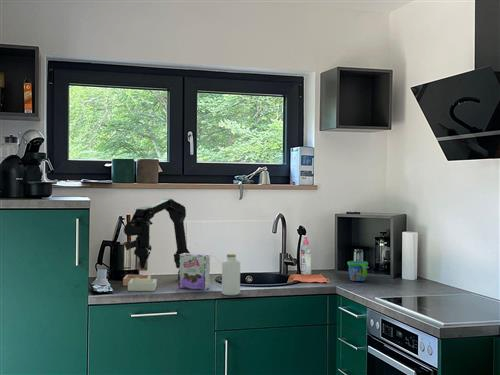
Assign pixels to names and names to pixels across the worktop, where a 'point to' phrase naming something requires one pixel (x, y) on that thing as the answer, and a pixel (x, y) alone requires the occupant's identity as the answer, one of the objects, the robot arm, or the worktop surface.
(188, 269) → the candy box
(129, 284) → the cream dish
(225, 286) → the potion bottle
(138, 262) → the walnut block
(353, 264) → the snack cup
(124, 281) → the terracotta dish
